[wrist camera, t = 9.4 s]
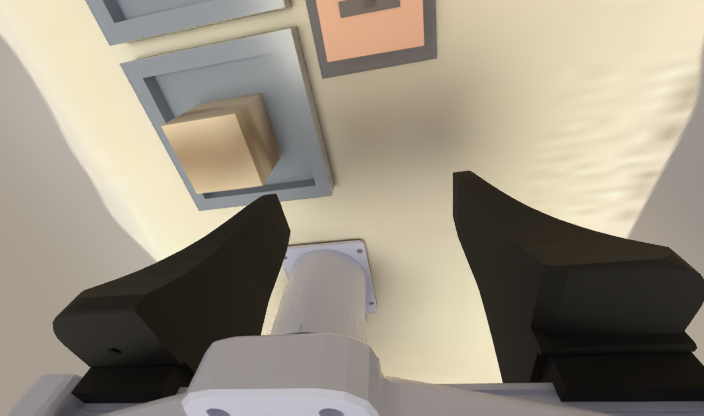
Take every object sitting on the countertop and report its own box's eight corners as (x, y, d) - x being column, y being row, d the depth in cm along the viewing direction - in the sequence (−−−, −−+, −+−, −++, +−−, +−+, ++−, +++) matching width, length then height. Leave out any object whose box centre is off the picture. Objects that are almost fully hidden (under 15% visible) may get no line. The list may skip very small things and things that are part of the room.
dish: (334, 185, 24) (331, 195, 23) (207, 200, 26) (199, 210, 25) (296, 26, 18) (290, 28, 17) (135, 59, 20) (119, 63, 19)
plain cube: (281, 155, 23) (262, 185, 19) (225, 163, 23) (196, 193, 20) (261, 92, 20) (234, 113, 17) (199, 103, 21) (160, 126, 17)
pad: (435, 56, 19) (436, 58, 18) (323, 76, 20) (322, 78, 19) (431, -101, 15) (432, -105, 14) (293, -66, 16) (290, -68, 16)
